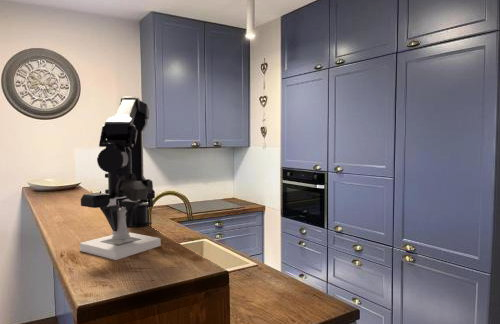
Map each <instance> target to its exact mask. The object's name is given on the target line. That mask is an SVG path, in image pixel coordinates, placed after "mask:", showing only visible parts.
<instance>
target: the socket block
mask: <svg viewBox="0 0 500 324" xmlns="http://www.w3.org/2000/svg"><path fill="white" fill-rule="evenodd" d="M129 235H130V237H129V238H128V239H125V240H114V239H113V238H112V236H114V235H113V234H110V235H106V236H104V237H99V238H94V239H90V240H86V241H82V242H79V251H80V252H84V253H86V254H91V255H95V256H99V257H102V258H106V259H108V260H109V259H110V260H114V261H117V260H120V259H125V258H127V257H130V256H133V255H136V254H139V253H143V252H145V251H149V250H152V249H155V248H158V247H161V244H162V243H161V242H162V241H161V237H155V236H150V235H144V234H139V233H136V232H135V233H134V232H130V233H129Z"/></svg>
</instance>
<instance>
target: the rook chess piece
mask: <svg viewBox="0 0 500 324" xmlns="http://www.w3.org/2000/svg"><path fill="white" fill-rule="evenodd" d="M126 212H127V210H126V207H122V206H120V207H119V209H118V211H117V231H113V230H112V233H111V235H114V236H112V238H113V239H114V240H125V239H128V238H129V237H130V235H129V233H131V232H130V230H129V228H127V225H126V215H125V214H126Z"/></svg>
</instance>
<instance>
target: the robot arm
mask: <svg viewBox="0 0 500 324" xmlns="http://www.w3.org/2000/svg"><path fill="white" fill-rule="evenodd" d="M149 119H150V109H149V107H148V104H147V103H146V102H143V101H142V100H140V97H136V96H123V97H121V98H120V103H119V107H118V109H117V111H116V114H115V115H114V116H112V117H108V118H107V120H105V122H104V124H103V125H102V128H101V133H100V137H99V144H98V146H99V148H103V147H104V148H103V149H102V150H101V151H100V152H99V153H98V156H97V158H96V162H97V165H98V168H100V170H102V171H104V172H105V173H104V178H107V179H108V180H107V181H108V182H107V185H108V186H107V188H108V189H107V188H106V189H105V190H104V193H100V192H99V193H98V192H93V193H92V192H91V193H84V194H83V195H82V196H81V198H80V207H87V208H93V209H96V208H97V209H100V211H101V212H102V214H103V215H104V216H105V219H106V221H107V223H108V224H109V226H110V229H111V230H112V232H113V231H117V211H118V209H119V207H120V208H122V207H126V210H127V212H126V214H125V215H126V225H127V228H128V229H130V227H132V228H133V227H134V228H140V227H144V226H149V225H152V224H153V222H152V221H149V220H150V217H149V215H150V214H149V211H150V210H149V208H151V207H153V206H154V199H155V198H156V192H155V190H154V186H153V185H154V184H153V180H152V179H147V178H145V175H144V145H143V144H144V142H143V141H144V139H143V132H144V131H145V128H146V127H147V125H148V120H149ZM117 201H120V204H121V205H120V204H119V205H118V204H117Z"/></svg>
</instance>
